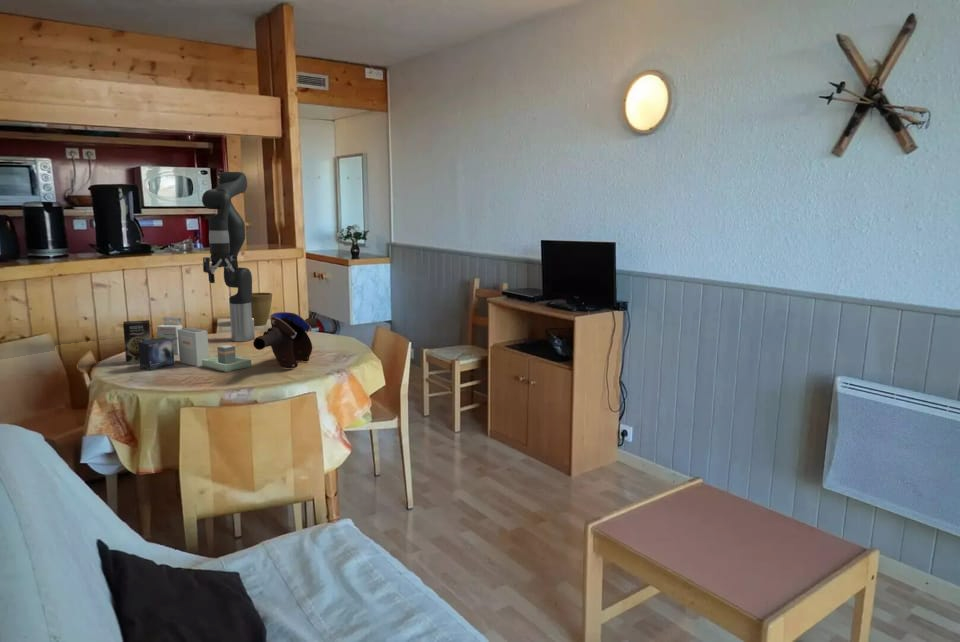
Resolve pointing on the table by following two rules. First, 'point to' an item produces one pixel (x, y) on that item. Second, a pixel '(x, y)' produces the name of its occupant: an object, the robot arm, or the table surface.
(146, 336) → the coffee box
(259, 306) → the plant pot
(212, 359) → the tray
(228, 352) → the module
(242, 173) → the robot arm
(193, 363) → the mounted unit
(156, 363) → the small box
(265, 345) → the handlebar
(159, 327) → the ink cartridge box
